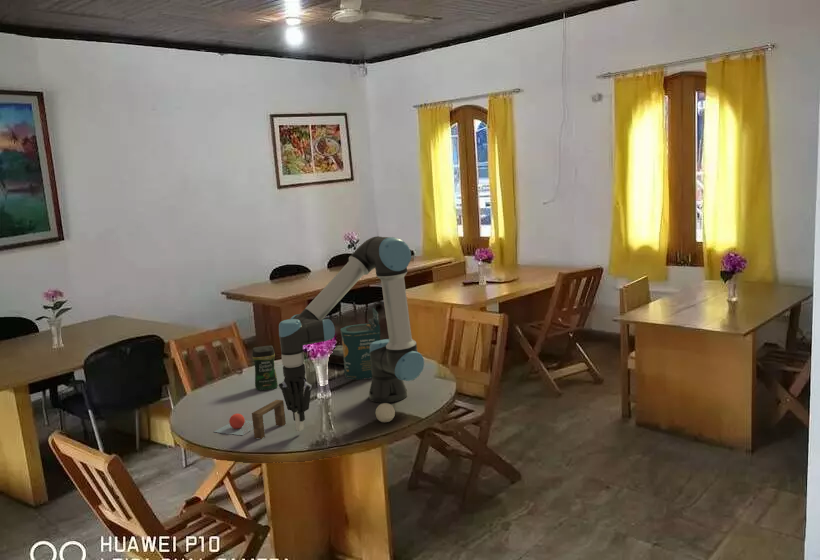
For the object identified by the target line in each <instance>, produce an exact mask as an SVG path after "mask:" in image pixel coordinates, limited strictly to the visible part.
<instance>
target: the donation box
mask: <svg viewBox="0 0 820 560" xmlns="http://www.w3.org/2000/svg"><path fill="white" fill-rule="evenodd" d="M380 323H381V322H380V314H379V312H378V311H377V310H376V309H375V308H374V307H372V318H369V319H368V323H359V324H353V325H350V324H349V325H346V326H344V327H341V328H340V335H341V342H342V343H341V344H342V345H341V346H343V356H344V365H343V366H344V368H343V372H344V373H343V374H344V375H345V378H346V379H349V380H355V379H356V380H357V381H358V380H359V379H360V380H365V379H364V378H367V379H371V378H370V377H372V371H371V359H370V344H371V343H372V342H375V341H379V340H381V325H380Z"/></svg>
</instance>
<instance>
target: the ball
mask: <svg viewBox="0 0 820 560" xmlns="http://www.w3.org/2000/svg"><path fill="white" fill-rule="evenodd" d="M245 420H246V419H245V417H244V415H243V414H241V413H234V414H232V415H231V416H230V418H229V420H228V422H229V423H230V426H231V427H232V428H234V429H239V428H241V427H242V426H243V425H244V423H245ZM229 423H228V424H229Z"/></svg>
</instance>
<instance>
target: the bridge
mask: <svg viewBox="0 0 820 560" xmlns="http://www.w3.org/2000/svg"><path fill="white" fill-rule="evenodd" d="M284 402H285V401H284V400H283V399H275V400H273V401H272V402H269V403H268V404H266V405H264V406H263V407H261V408H259V409H256V410H255V411H252V412H251V418H252V420H251V421H253V436H254V439H256V438H260V439H259V440H263V439H264V438H266V433H265V425H264V424H265V423H263V422H264V415H265V414H268V413H269V412H271V411H273V410H274V411H273V412H274V422H275V426H276V425H278V426H277V427H284V426H286V425H285V424H287V423H286V413H285V403H284ZM263 437H264V438H263ZM262 438H263V439H262Z"/></svg>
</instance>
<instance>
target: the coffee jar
mask: <svg viewBox="0 0 820 560" xmlns="http://www.w3.org/2000/svg"><path fill="white" fill-rule="evenodd" d="M275 353H276V352H275V349H274V347H273V345H264V346H262V345H261V346H255V347H254V346H253V348H252V353H251V355H252V356H251V357H252V360H253V363H254V383H255V384H254V386H255V390H257V391H268V390H275V389H276V388H278V387H279V383H278V376H277V372H276V368H275V367H276V366H275V356H276V354H275Z"/></svg>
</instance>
